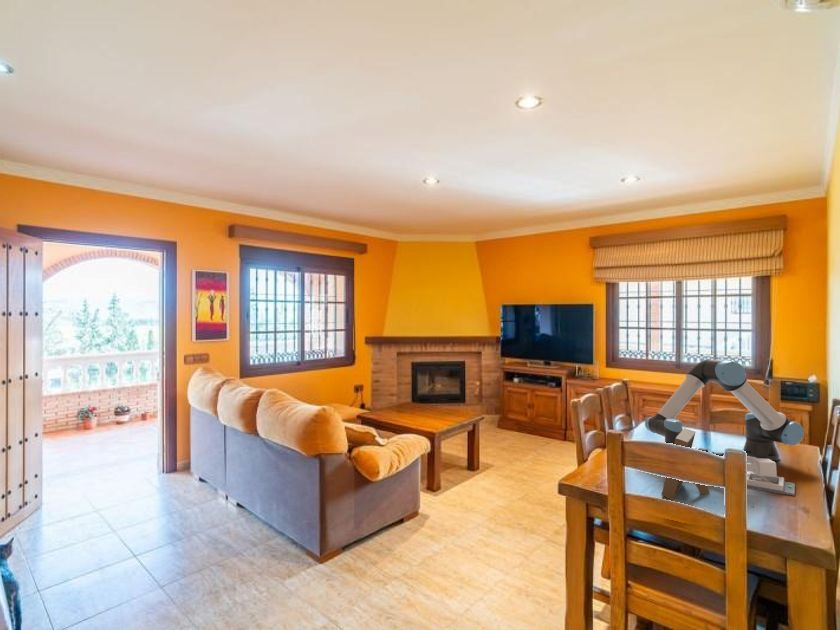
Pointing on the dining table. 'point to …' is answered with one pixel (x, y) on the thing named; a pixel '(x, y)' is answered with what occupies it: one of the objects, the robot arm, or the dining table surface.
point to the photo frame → (674, 485)
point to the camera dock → (771, 484)
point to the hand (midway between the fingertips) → (754, 464)
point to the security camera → (764, 468)
